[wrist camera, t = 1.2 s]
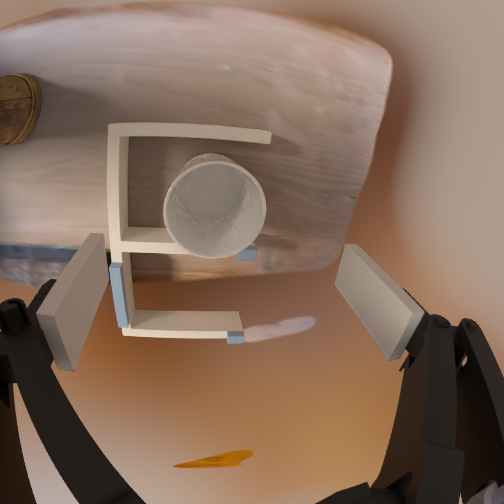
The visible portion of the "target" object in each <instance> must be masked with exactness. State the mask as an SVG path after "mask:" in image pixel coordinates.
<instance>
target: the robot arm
mask: <svg viewBox="0 0 504 504" xmlns="http://www.w3.org/2000/svg"><path fill="white" fill-rule="evenodd" d="M108 281H109V276H108V268H107V260H106V251H105V240H104V234H98V233H91V234H90V235H89V236H88V237H87V239H86V240H85V241H84V243H83V244H82V245H81V247H80V248H79V249H78V251H77V252H76V253H75V255H74V256H73V258H72V259H71V260H70V262H69V263H68V265H67V266H66V267H65V269H64V270H63V272H62V273H61V275H60V276H59V278H58V279H57V280H56V279H50V280H49V281H47V282H46V283H45V284H43V285H42V287H41V288H40V290H39V291H38V294H36V296H35V297H34V300H32V302H31V303H30V305H29V306H28V308H26V305H25V303H24V301H23V300H21V299H18V298H12V299H8V300H6V301H4V302H2V303H1V304H0V329H1V331H0V504H37V503H36V501H35V497H34V494H33V491H32V488H31V485H30V481H29V478H28V474H27V470H26V466H25V462H24V458H23V453H22V448H21V444H20V438H19V433H18V426H17V419H16V412H15V403H14V392H13V383H17V385H18V388H19V390H20V393H21V396H22V398H23V401H24V403H25V406H26V408H27V411H28V413H29V415H30V418H31V420H32V422H33V424H34V427H35V429H36V431H37V433H38V435H39V437H40V439H41V441H42V443H43V445H44V447H45V449H46V451H47V452H48V455H49V456H50V458H51V460H52V462H53V463H54V465H55V467H56V469H57V470H58V472H59V474H60V475H61V477H62V479H63V480H64V482H65V483H66V485H67V486H68V488H69V489H70V491H71V492H72V494H73V495H74V497H75V498H76V500H77V501H78V502H79V504H146V503H145V502H144V501H143V500H142V499H141V498H140V497H139V496H138V495H137V493H136V492H135V491H134V490H133V489H132V488H131V487H130V486H129V485H128V483H127V482H126V481H125V480H124V479H123V478H122V476H121V475H120V474H119V473H118V472H117V470H116V469H115V468H114V467H113V466H112V464H111V463H110V462H109V460H108V459H107V458H106V456H105V455H104V454H103V452H102V451H101V450H100V448H99V447H98V445H97V444H96V443H95V441H94V440H93V438H92V437H91V435H90V434H89V433H88V431H87V429H86V428H85V426H84V425H83V423H82V422H81V420H80V419H79V417H78V415H77V414H76V412H75V411H74V409H73V407H72V405H71V404H70V402H69V400H68V398H67V397H66V395H65V393H64V391H63V390H62V388H61V386H60V384H59V382H58V380H57V378H56V376H55V374H54V372H53V370H52V368H51V364H52V362H53V359H54V361H55V363H56V366H57V368H58V369H60V370H66V371H72V372H75V369H76V366H77V363H78V360H79V357H80V354H81V351H82V348H83V345H84V342H85V339H86V337H87V334H88V331H89V329H90V326H91V323H92V321H93V318H94V315H95V313H96V310H97V308H98V305H99V303H100V300H101V298H102V296H103V293H104V291H105V288H106V286H107V284H108ZM334 285H335V287H336V288H337V290H338V291H339V292H340V294H341V295H342V296H343V298H344V299H345V301H346V302H347V303H348V305H349V306H350V307H351V309H352V310H353V312H354V313H355V314H356V316H357V317H358V319H359V320H360V322H361V323H362V324H363V326H364V327H365V329H366V330H367V331H368V333H369V334H370V336H371V337H372V338H373V340H374V341H375V343H376V344H377V346H378V347H379V349H380V350H381V352H382V353H383V354H384V356H385V358H386V359H387V361H391V360H395V359H399V358H400V357H401V356H402V354H403V352H404V350H405V349H406V350H407V351H408V352H409V355H408V356H407V358H406V360H405V361H404V363H403V365H402V366H401V368H400V370H399V371H402V369H403V368H404V375H403V381H402V387H401V392H400V397H399V403H398V407H397V412H396V416H395V420H394V425H393V429H392V433H391V437H390V440H389V444H388V448H387V451H386V455H385V458H384V462H383V465H382V468H381V471H380V473H379V476H378V478H377V479H376V480H375V482H374V483H373V485H372V486H371V488H370V487H369V485H368V483H367V482H365V483H362V484H360V485H357V486H354V487H351V488H348V489H344V490H341V491H338V492H336V493H334V494H333V495H331V496H329V497H327V498H325V499H323V500H321V501H320V502H318V503H316V504H458V503H459V497H460V493H461V498H462V502H463V504H504V377H503V375H502V373H501V370H500V368H499V366H498V364H497V361H496V359H495V357H494V355H493V352H492V350H491V348H490V346H489V344H488V342H487V340H486V338H485V336H484V334H483V332H482V330H481V328H480V327H479V325H478V324H477V323H476V322H475V321H473V320H471V319H467V318H464V319H462V320H461V322H460V324H459V326H451V324H450V322H449V321H448V320H447V319H445V318H444V317H442V316H440V315H436V314H434V315H429V314H428V313H427V311H425V309H424V308H423V307H422V306H421V305H420V304H419V303H418V302H417V301H415V299H414V298H413V297H411V295H410V294H409V293H408V292H407V291H406V290H405V289H404V288H402V287H400V286H399V285H398V284H397V283H396V282H395V281H394V280H393V279H392V278H391V277H390V276H389V275H388V274H387V273H386V272H385V271H384V270H383V269H382V268H381V267H380V266H379V265H378V264H377V263H376V262H374V260H372V258H371V257H369V256H368V255H367V254H366V253H365V252H364V251H363V250H362V249H361V248H360V247H359V246H358V245H357V244H345V247H344V251H343V254H342V258H341V262H340V265H339V269H338V272H337V276H336V279H335V282H334ZM466 356H467V362H466V364H465V365H464V366H463V365H462V362H463V360H464V359H465V357H466Z"/></svg>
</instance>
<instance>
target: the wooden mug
mask: <svg viewBox="0 0 504 504" xmlns="http://www.w3.org/2000/svg"><path fill="white" fill-rule="evenodd" d="M40 107H41V91H40V88H39V85H38V82H37V81H36V80H35V78H34V77H33V76H31V75H29V74H22V73H20V74H9V75H7V76H5V77H2V78H0V147H2V146H8V145H13V144H17V143H21V142H22V141H23V140H24V139H25V138H27V137H28V135H29V134H30V132H31V131H32V129H33V128H34V126H35V124H36V121H37V119H38V116H39V112H40Z"/></svg>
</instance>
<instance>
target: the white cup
mask: <svg viewBox="0 0 504 504" xmlns="http://www.w3.org/2000/svg"><path fill="white" fill-rule="evenodd" d="M163 215H164V221H165V225H166V228H167V230H168V232H169V234H170V236H171V238H172V239H173V240H174V241H175V243H176V244H177V245H178V246H180V247H181V248H182V249H183V250H185V251H186V252H188V253H190V254H192V255H195V256H198V257H202V258H208V259H219V258H225V257H229V256H232V255H235V254H237V253H239V252H241V251H242V250H244V249H245V248H247V247H248V246H249V245H250V244H251V243H252V242H253V241H254V240H255V239H256V237H257V236H258V235H259V233H260V231H261V229H262V227H263V225H264V222H265V217H266V199H265V195H264V192H263V190H262V188H261V186H260V184H259V183H258V181H257V180H256V179H255V178H254V176H253V175H252V174H250V173H249V172H248V171H247V170H245V169H244V168H243V167H242V166H241V165H239V164H238V163H237V162H235V161H233V160H232V159H230V158H228V157H226V156H224V155H220V154H217V153H213V152H210V153H204V154H199V155H196V156H195V157H194V158H192V159H191V160H189V161H188V162H187V163H186V164H185V165H184V166H183V167H182V169H181V170H180V171H179V173H178V174H177V175H176V177H175V179H174V181H173V183H172V184H171V186H170V188H169V190H168V192H167V194H166V197H165V201H164V208H163Z"/></svg>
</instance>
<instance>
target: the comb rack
mask: <svg viewBox="0 0 504 504" xmlns="http://www.w3.org/2000/svg"><path fill="white" fill-rule="evenodd" d="M271 135H272V132H269V131H265V130H260V129H251V128H242V127H232V126H221V125H208V124H191V123H164V122H127V123H113V124H108V144H107V202H108V222H109V237H110V248H111V259H112V263H111V265H110V267H109V270H110V278H111V285H112V291H113V298H114V304H115V310H116V316H117V321H118V327H122V332H123V335H124V336H141V337H142V336H143V337H164V338H227V343H228V344H230V343H244V332H243V328H242V324H241V320H240V315H239V312H238V311H168V310H167V311H166V310H142V309H135V304H134V294H133V285H132V274H131V262H130V252H138V253H169V254H190V253H188V252H186V251H185V250H183V249H182V248H181V247H180V246H178V245H177V244H176V243H175V241H174V240H173V239H172V238H171V236H170V234H169V232H168V230H167V228H159V227H128V149H129V136H166V137H192V138H209V139H222V140H234V141H244V142H254V143H263V144H270V142H271ZM233 256H236V259H237V260H251V261H256V257H257V248H256V246H255V243H254V241H253V242H252V243H251V244H250V245H249V246H248V247H247V248H245V249H244V250H242V251H241V252H239V253H237V254H235V255H233Z"/></svg>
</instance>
